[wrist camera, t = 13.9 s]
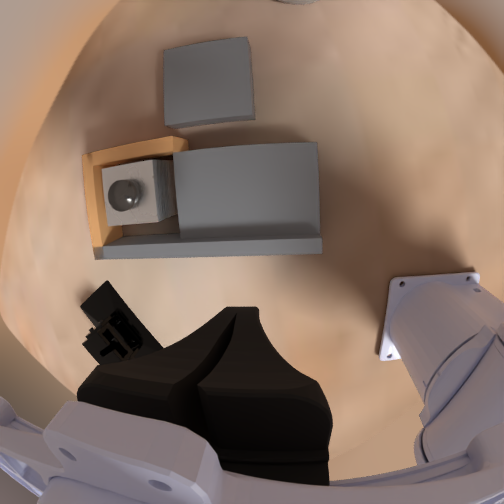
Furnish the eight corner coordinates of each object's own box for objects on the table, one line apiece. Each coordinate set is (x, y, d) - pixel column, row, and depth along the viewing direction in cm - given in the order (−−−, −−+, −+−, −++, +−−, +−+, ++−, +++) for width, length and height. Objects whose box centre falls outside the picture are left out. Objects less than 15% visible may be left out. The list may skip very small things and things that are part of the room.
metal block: (174, 160, 21) (145, 159, 16) (179, 212, 22) (151, 225, 17) (129, 167, 21) (93, 169, 16) (134, 216, 22) (100, 229, 17)
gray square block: (250, 47, 17) (247, 36, 15) (255, 119, 19) (252, 114, 17) (173, 59, 18) (163, 50, 16) (174, 129, 20) (164, 125, 18)
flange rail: (312, 131, 19) (318, 124, 16) (316, 241, 21) (322, 253, 18) (104, 155, 21) (81, 155, 18) (115, 248, 23) (95, 259, 20)
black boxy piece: (189, 362, 26) (174, 393, 22) (143, 384, 28) (127, 411, 24) (105, 260, 24) (76, 277, 20) (69, 296, 26) (43, 315, 21)
